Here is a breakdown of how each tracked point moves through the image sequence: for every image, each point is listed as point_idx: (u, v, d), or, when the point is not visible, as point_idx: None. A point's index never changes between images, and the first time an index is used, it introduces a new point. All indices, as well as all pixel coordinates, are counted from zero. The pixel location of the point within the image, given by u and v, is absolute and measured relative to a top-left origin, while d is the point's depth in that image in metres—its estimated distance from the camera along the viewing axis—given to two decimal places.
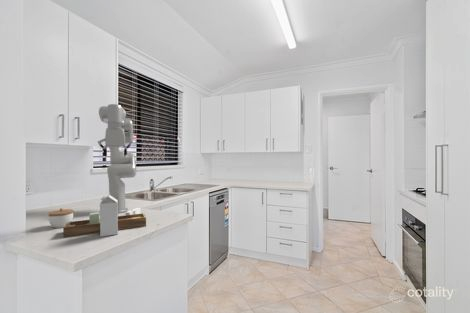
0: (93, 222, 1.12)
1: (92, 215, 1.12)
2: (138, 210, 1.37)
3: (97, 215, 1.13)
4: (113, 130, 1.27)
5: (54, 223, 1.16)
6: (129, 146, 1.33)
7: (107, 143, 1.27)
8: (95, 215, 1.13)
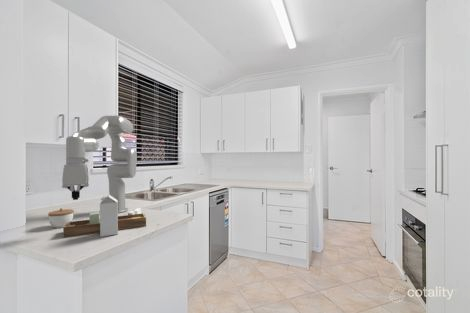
0: (93, 222, 1.12)
1: (92, 215, 1.12)
2: (139, 210, 1.36)
3: (97, 215, 1.13)
4: (72, 167, 1.08)
5: (54, 223, 1.16)
6: (82, 187, 1.11)
7: (65, 183, 1.07)
8: (95, 215, 1.13)
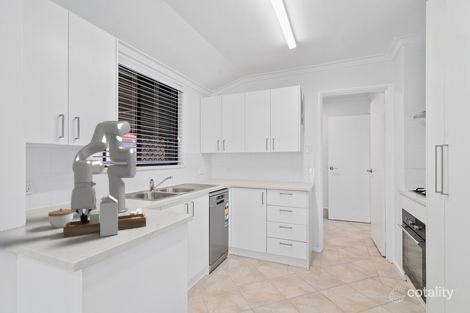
0: (93, 222, 1.12)
1: (92, 215, 1.12)
2: (140, 210, 1.36)
3: (97, 215, 1.13)
4: (80, 191, 1.10)
5: (54, 223, 1.16)
6: None
7: (73, 207, 1.09)
8: (95, 215, 1.13)
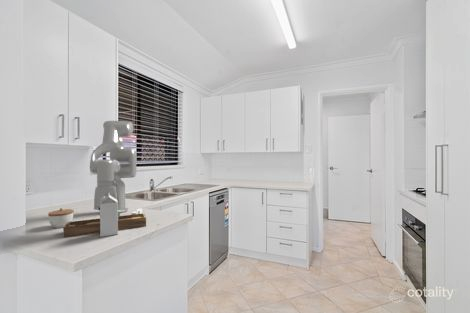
0: None
1: None
2: (141, 210, 1.36)
3: (119, 213, 1.17)
4: (103, 189, 1.14)
5: (54, 223, 1.16)
6: None
7: (96, 205, 1.13)
8: None
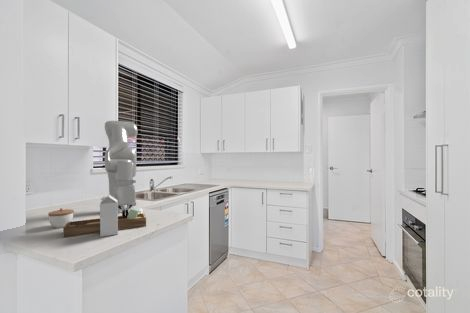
0: (130, 217, 1.19)
1: (132, 210, 1.19)
2: (142, 211, 1.36)
3: (136, 212, 1.19)
4: (123, 188, 1.18)
5: (54, 223, 1.16)
6: (131, 206, 1.21)
7: None
8: (134, 211, 1.19)
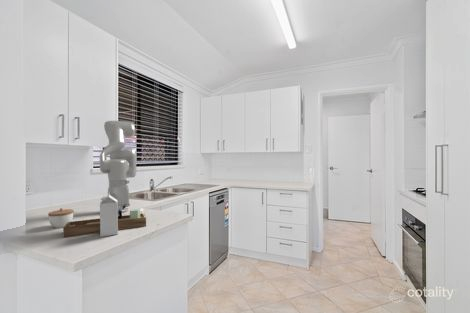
0: (133, 218, 1.19)
1: (132, 211, 1.19)
2: None
3: (136, 211, 1.19)
4: (116, 189, 1.17)
5: (54, 223, 1.16)
6: (124, 207, 1.20)
7: None
8: (134, 211, 1.19)
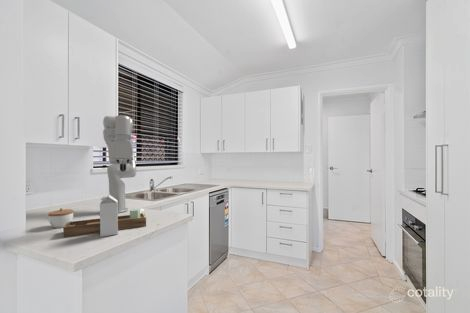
0: (133, 218, 1.19)
1: (132, 211, 1.19)
2: (143, 211, 1.35)
3: (136, 211, 1.19)
4: (121, 142, 1.23)
5: (54, 223, 1.16)
6: (128, 161, 1.27)
7: (114, 156, 1.22)
8: (134, 211, 1.19)
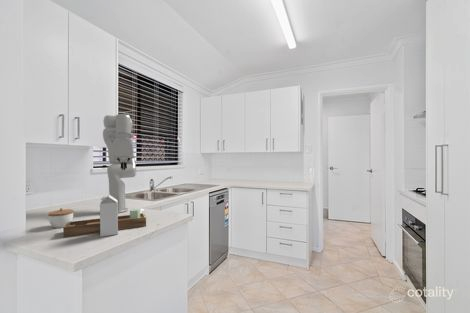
0: (133, 218, 1.19)
1: (132, 211, 1.19)
2: None
3: (136, 211, 1.19)
4: (121, 141, 1.24)
5: (54, 223, 1.16)
6: (129, 159, 1.27)
7: (115, 154, 1.23)
8: (134, 211, 1.19)
